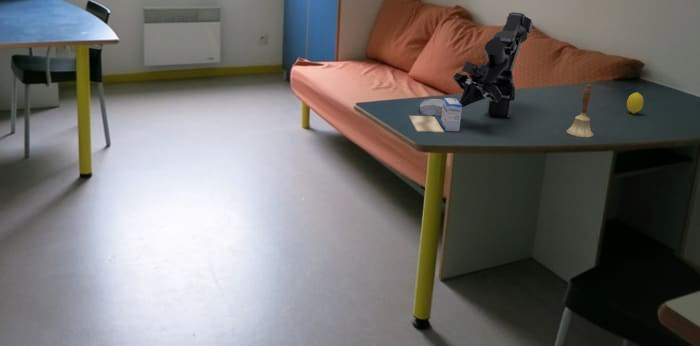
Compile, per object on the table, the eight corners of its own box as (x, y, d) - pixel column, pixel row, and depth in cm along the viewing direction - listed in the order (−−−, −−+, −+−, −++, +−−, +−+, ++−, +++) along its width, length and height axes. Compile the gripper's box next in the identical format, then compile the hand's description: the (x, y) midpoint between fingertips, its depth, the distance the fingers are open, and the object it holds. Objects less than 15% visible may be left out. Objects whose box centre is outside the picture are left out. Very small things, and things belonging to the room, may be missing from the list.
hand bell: (598, 136, 231) (607, 86, 226) (581, 138, 227) (590, 88, 222) (578, 129, 238) (586, 81, 233) (560, 131, 233) (569, 82, 228)
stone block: (419, 120, 243) (449, 117, 241) (417, 105, 242) (447, 103, 240) (422, 112, 255) (451, 110, 252) (421, 99, 253) (450, 96, 251)
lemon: (641, 113, 264) (646, 91, 261) (640, 116, 259) (644, 94, 256) (625, 110, 266) (629, 89, 263) (624, 114, 261) (628, 92, 258)
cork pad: (433, 117, 240) (434, 116, 239) (444, 132, 224) (444, 131, 223) (408, 116, 239) (408, 115, 239) (417, 131, 223) (417, 130, 223)
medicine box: (440, 124, 233) (443, 97, 230) (454, 124, 233) (457, 98, 231) (445, 131, 226) (448, 103, 223) (459, 131, 226) (462, 104, 223)
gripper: (461, 47, 233) (429, 83, 232) (499, 58, 218) (466, 97, 216) (477, 70, 240) (446, 105, 238) (515, 83, 224) (483, 120, 223)
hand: (459, 106), depth 229 cm, fingers closed
